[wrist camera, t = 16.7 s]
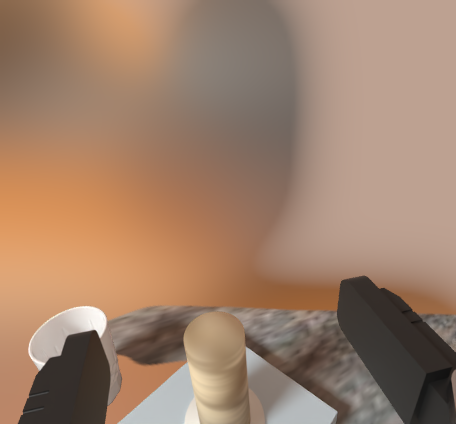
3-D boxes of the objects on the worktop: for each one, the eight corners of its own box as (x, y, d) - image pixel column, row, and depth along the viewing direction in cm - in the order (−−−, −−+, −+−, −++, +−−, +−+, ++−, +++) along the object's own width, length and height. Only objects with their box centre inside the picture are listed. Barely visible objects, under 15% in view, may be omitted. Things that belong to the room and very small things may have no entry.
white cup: (99, 432, 34) (71, 373, 30) (43, 412, 37) (10, 354, 32) (139, 369, 41) (121, 312, 36) (89, 355, 43) (67, 300, 39)
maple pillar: (224, 385, 34) (214, 303, 29) (260, 416, 31) (257, 331, 26) (189, 421, 31) (171, 337, 26) (226, 460, 28) (213, 373, 23)
